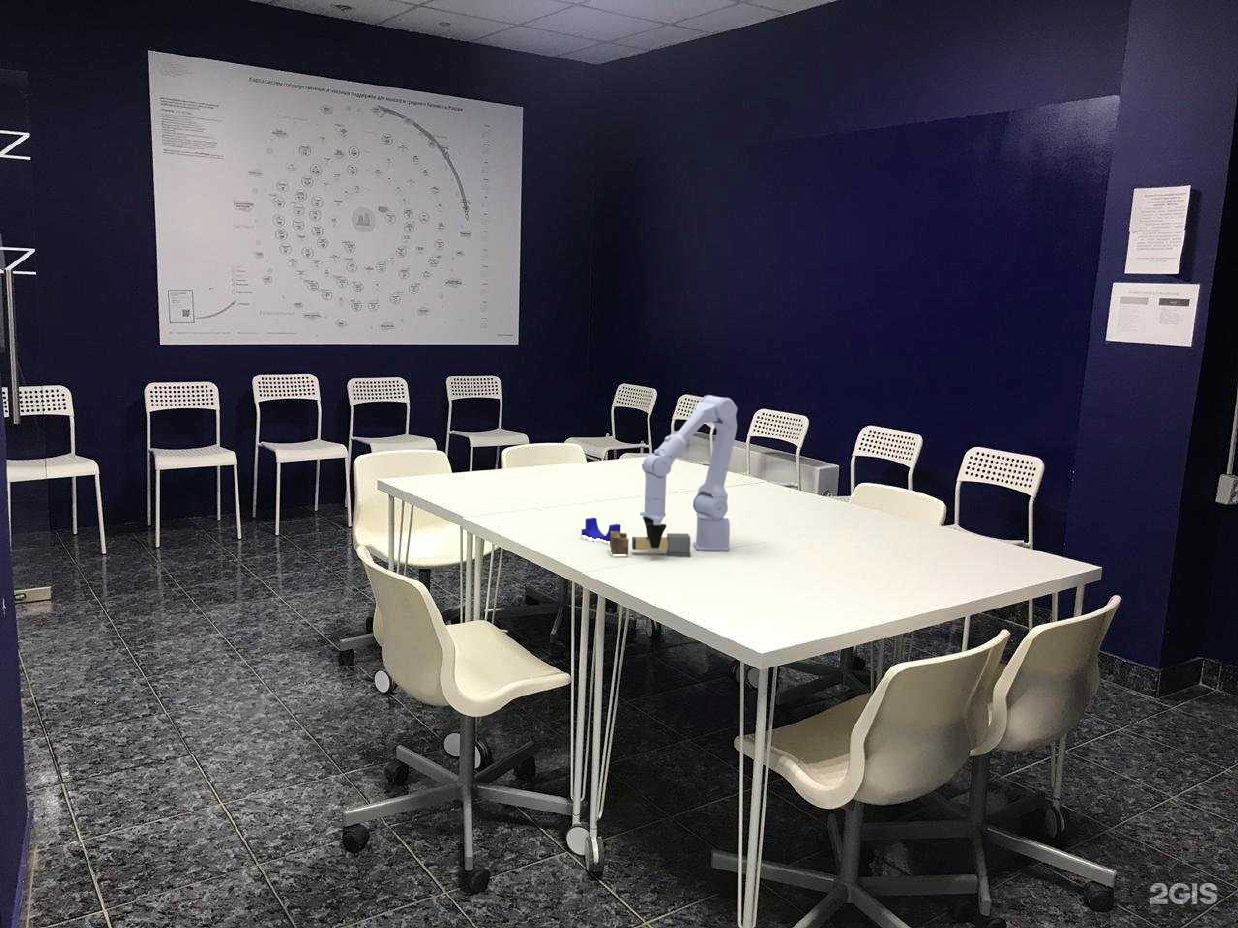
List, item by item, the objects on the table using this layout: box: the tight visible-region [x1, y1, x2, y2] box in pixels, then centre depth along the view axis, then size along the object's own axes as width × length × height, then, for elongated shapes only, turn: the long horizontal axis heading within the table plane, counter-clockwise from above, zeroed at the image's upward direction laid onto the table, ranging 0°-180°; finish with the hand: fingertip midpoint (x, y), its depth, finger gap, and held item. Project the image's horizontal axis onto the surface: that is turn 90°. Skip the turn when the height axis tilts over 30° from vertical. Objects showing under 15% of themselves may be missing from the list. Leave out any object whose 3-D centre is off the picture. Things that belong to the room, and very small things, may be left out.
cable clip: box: [581, 517, 621, 541], centre depth 295 cm, size 12×4×6 cm, turn 43°
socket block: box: [609, 531, 630, 556], centre depth 280 cm, size 4×8×6 cm, turn 4°
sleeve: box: [665, 532, 691, 558], centre depth 282 cm, size 6×6×5 cm
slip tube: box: [631, 536, 669, 551], centre depth 281 cm, size 14×3×3 cm, turn 94°
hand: (653, 544), depth 281 cm, fingers open, 7 cm apart
